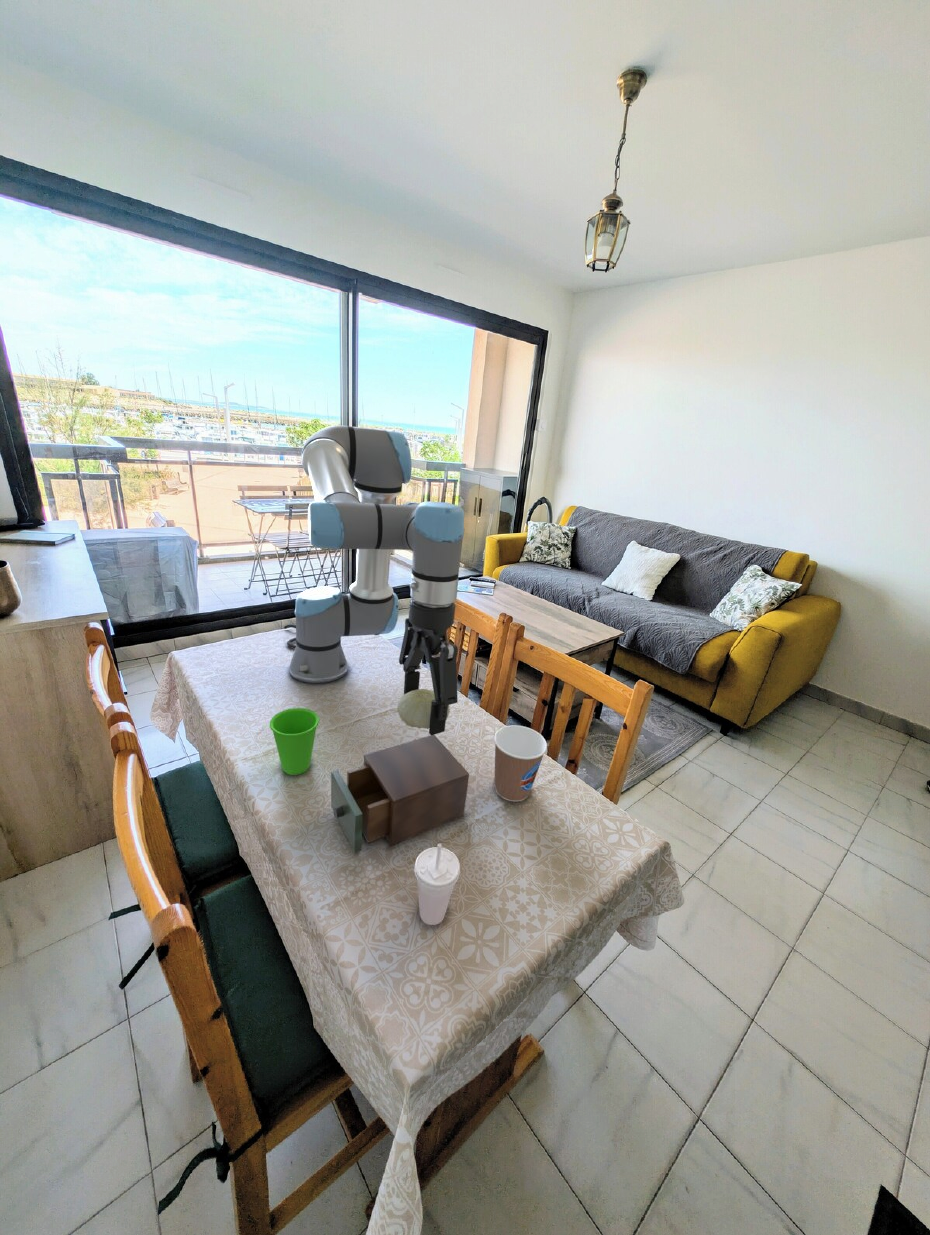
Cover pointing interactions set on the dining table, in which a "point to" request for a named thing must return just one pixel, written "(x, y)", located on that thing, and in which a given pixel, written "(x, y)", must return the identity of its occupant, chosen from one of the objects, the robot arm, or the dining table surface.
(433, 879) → the smoothie
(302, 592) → the robot arm
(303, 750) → the cup
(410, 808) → the cabinet
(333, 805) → the drawer
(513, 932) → the dining table surface
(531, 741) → the coffee cup
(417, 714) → the sea urchin shell
